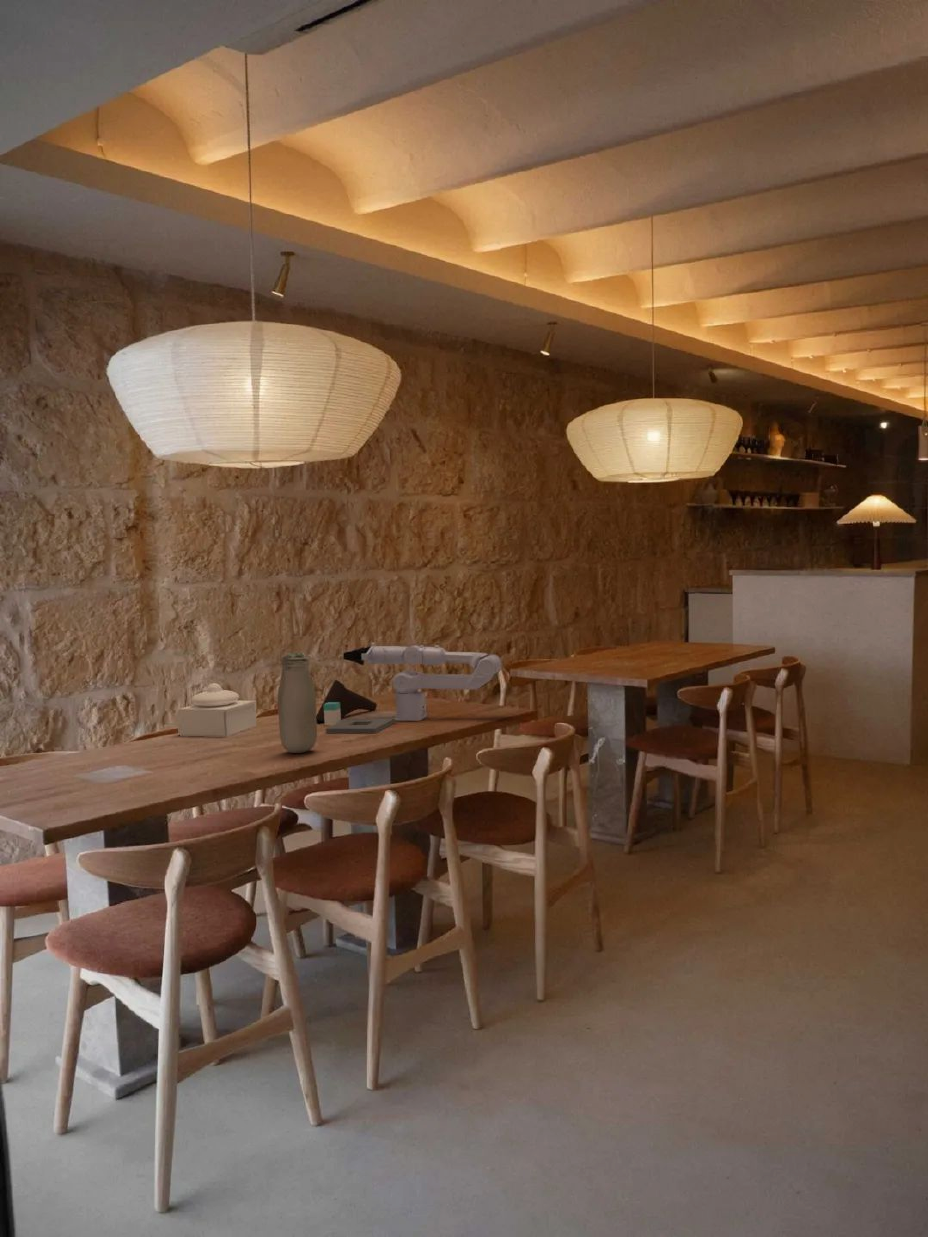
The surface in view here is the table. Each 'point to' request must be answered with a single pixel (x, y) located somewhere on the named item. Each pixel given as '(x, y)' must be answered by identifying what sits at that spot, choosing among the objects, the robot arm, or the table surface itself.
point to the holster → (345, 701)
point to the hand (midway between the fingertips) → (348, 654)
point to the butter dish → (216, 714)
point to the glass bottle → (297, 704)
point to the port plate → (361, 725)
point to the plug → (332, 713)
